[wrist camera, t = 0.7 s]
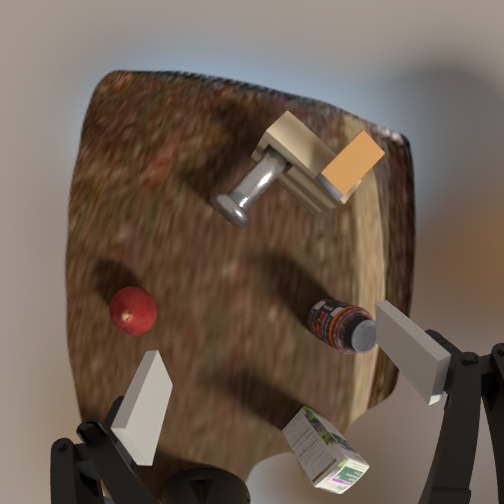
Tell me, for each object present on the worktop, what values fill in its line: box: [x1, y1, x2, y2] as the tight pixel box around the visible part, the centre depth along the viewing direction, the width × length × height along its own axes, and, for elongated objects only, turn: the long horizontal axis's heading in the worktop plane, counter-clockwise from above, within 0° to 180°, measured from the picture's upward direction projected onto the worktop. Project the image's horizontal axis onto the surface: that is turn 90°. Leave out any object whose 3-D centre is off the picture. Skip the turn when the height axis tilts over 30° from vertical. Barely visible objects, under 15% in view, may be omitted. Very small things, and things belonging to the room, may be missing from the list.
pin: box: [210, 147, 290, 229], centre depth 34 cm, size 13×5×5 cm, turn 139°
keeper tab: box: [315, 130, 385, 201], centre depth 29 cm, size 8×4×1 cm, turn 139°
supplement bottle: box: [307, 299, 377, 354], centre depth 35 cm, size 6×6×11 cm
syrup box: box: [282, 406, 369, 494], centre depth 32 cm, size 6×6×14 cm
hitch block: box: [251, 111, 361, 215], centre depth 35 cm, size 4×12×9 cm, turn 49°
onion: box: [109, 287, 157, 335], centre depth 31 cm, size 6×6×8 cm
